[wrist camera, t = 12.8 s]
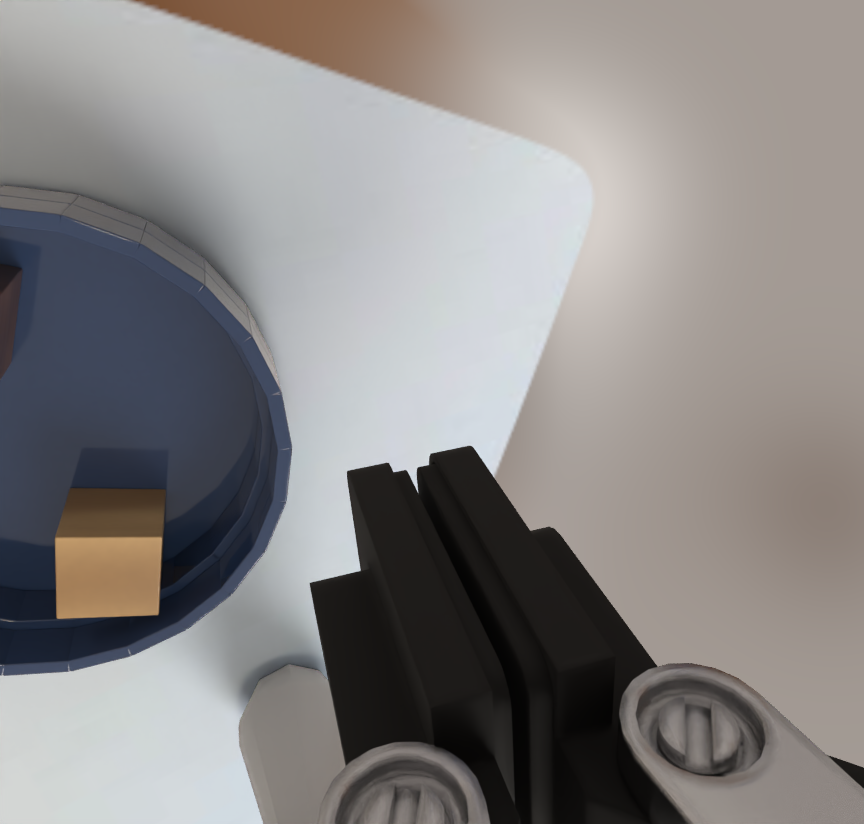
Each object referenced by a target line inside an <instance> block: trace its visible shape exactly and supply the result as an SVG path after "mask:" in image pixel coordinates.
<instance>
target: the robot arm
mask: <svg viewBox="0 0 864 824" xmlns="http://www.w3.org/2000/svg"><path fill="white" fill-rule="evenodd" d="M347 480H348V487H349V494H350V501H351V508H352V514H353V521H354V528H355V534H356V541H357V548H358V555H359V561H360V568H361V571H359V572H355V573H350V574H346V575H342V576H338V577H333V578H329V579H325V580H321V581H316V582H312V583H310V588H311V593H312V599H313V604H314V609H315V614H316V620H317V625H318V630H319V635H320V640H321V645H322V651H323V656H324V661H325V666H326V671H327V676H328V681H329V686H330V691H331V696H332V701H333V706H334V711H335V716H336V721H337V726H338V731H339V736H340V741H341V746H342V751H343V756H344V761H345V766H346V767H345V768H344V769H343V770H342V771H341V772H340V773H339V774H338V775H337V776H336V777H335V778H334V779H333V780H332V782H331V784H330V786H329V788H328V790H327V792H326V794H325V796H324V798H323V800H322V801H321V804H320V810H319V815H318V821H317V824H864V768H863V767H860V766H857V765H854V764H852V763H849V762H846V761H843V760H840V759H837V758H834V757H831V756H828V755H826V754H825V753H824V752H823V751H822V750H820V748H818V747H817V746H816V745H815V744H814V743H813V742H812V741H811V740H810V739H808V738H807V737H806V736H805V735H804V734H803V733H802V732H801V731H800V730H799V729H798V728H797V727H795V726H794V725H793V724H792V723H791V722H790V721H789V720H788V719H787V718H786V717H784V716H783V715H782V714H781V713H780V712H779V711H778V710H777V709H776V708H775V707H773V706H772V705H771V704H770V703H769V702H768V701H767V700H766V699H765V698H764V697H763V696H761V695H760V694H759V693H758V692H757V691H755V690H754V689H752V688H751V687H749V686H748V685H747V684H746V683H744V682H743V681H741V680H740V679H739V678H736V677H734V676H732V675H730V674H727V673H725V672H723V671H720V670H718V669H716V668H712V667H707V666H702V665H697V664H692V663H690V664H689V663H682V664H666V665H662V666H659V667H657V665H656V664H655V663H654V661H653V660H652V659H651V657H650V656H649V654H648V653H647V652H646V650H645V649H644V648H643V646H642V645H641V644H640V642H639V641H638V640H637V638H636V637H635V635H634V634H633V633H632V631H631V630H630V629H629V627H628V626H627V625H626V623H625V622H624V621H623V619H622V618H621V617H620V615H619V614H618V612H617V611H616V610H615V608H614V607H613V606H612V604H611V603H610V602H609V600H608V599H607V597H606V596H605V595H604V594H603V592H602V591H601V589H600V588H599V587H598V585H597V584H596V583H595V581H594V580H593V579H592V577H591V576H590V575H589V573H588V572H587V570H586V569H585V568H584V566H583V565H582V564H581V562H580V561H579V560H578V558H577V557H576V555H575V554H574V553H573V551H572V550H571V549H570V547H569V546H568V545H567V543H566V542H565V541H564V539H563V538H562V537H561V535H560V534H559V533H558V532H557V531H556V530H555V529H554V528H551V527H546V528H541V529H537V530H533V531H530V530H529V528H528V527H527V526H526V524H525V523H524V521H523V520H522V518H521V517H520V515H519V514H518V512H517V511H516V509H515V508H514V506H513V505H512V504H511V502H510V501H509V499H508V498H507V496H506V495H505V493H504V492H503V490H502V489H501V487H500V486H499V484H498V483H497V482H496V480H495V479H494V477H493V476H492V474H491V473H490V471H489V470H488V468H487V467H486V465H485V464H484V462H483V461H482V459H481V458H480V457H479V455H478V454H477V452H476V451H475V449H474V448H473V447H472V446H466V447H461V448H456V449H452V450H447V451H442V452H437V453H432V454H431V455H430V458H429V465H427V466H423V467H418V469H417V483H418V492H417V490H416V488H415V486H414V484H413V482H412V480H411V478H410V476H409V474H408V472H407V471H406V470H404V471H399V472H394V473H393V471H392V468H391V466H390V465H389V463H384V464H379V465H374V466H369V467H364V468H360V469H355V470H350V471H347ZM418 493H419V494H418Z"/></svg>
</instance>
